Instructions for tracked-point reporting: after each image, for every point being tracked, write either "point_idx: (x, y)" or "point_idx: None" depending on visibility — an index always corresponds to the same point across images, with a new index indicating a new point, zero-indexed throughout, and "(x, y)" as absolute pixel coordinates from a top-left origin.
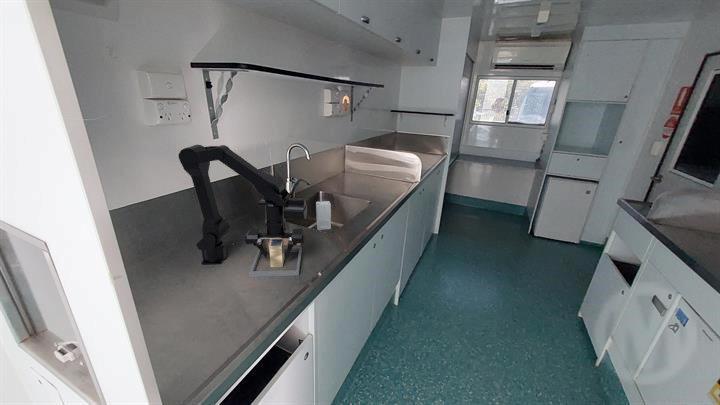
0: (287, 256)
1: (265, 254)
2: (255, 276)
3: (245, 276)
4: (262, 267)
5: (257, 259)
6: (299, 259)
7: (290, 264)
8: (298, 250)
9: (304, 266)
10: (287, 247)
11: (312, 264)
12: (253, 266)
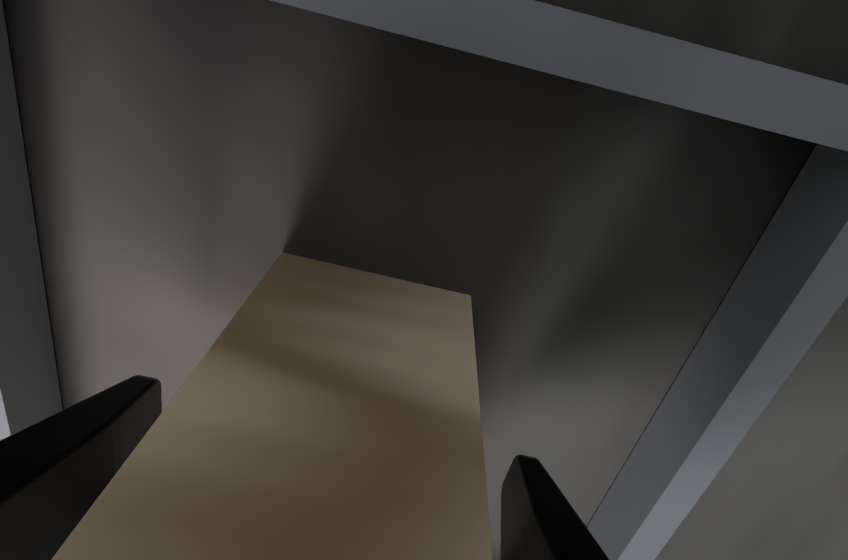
0: (508, 543)
1: None
2: None
3: None
4: None
5: (8, 278)
6: (681, 507)
7: (526, 445)
8: (821, 146)
9: (684, 520)
10: (621, 25)
11: (800, 513)
12: None
